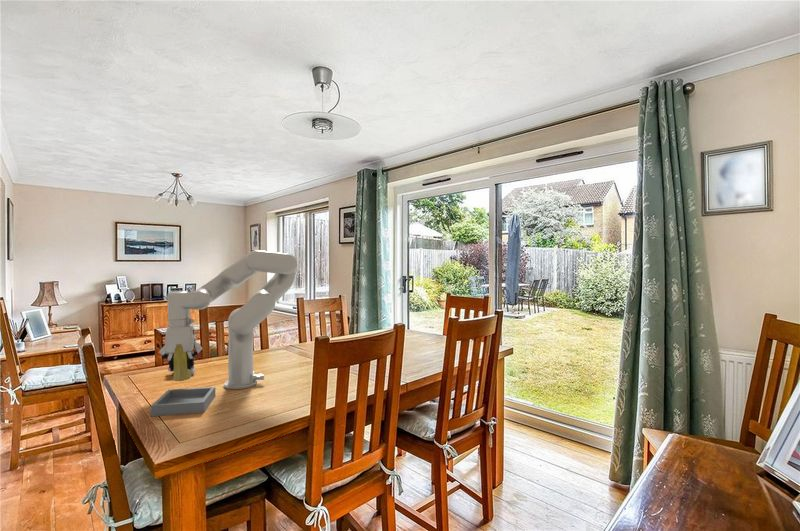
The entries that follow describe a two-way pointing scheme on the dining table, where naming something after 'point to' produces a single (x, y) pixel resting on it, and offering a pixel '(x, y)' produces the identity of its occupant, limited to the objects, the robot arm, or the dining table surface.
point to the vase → (181, 364)
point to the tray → (183, 401)
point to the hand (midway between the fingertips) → (181, 368)
